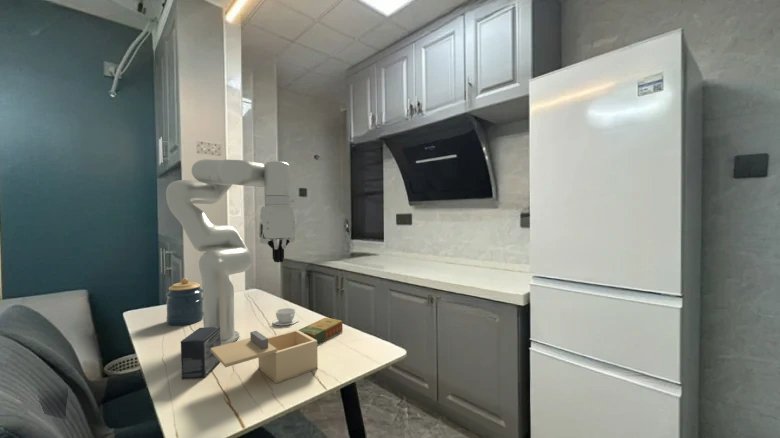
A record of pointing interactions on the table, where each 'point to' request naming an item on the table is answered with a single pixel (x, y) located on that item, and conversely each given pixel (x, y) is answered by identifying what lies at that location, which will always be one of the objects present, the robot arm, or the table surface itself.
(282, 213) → the robot arm
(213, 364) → the small box
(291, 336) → the shipping box
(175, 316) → the canister
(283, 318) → the teacup
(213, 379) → the table surface
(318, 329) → the carton
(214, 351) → the box lid
